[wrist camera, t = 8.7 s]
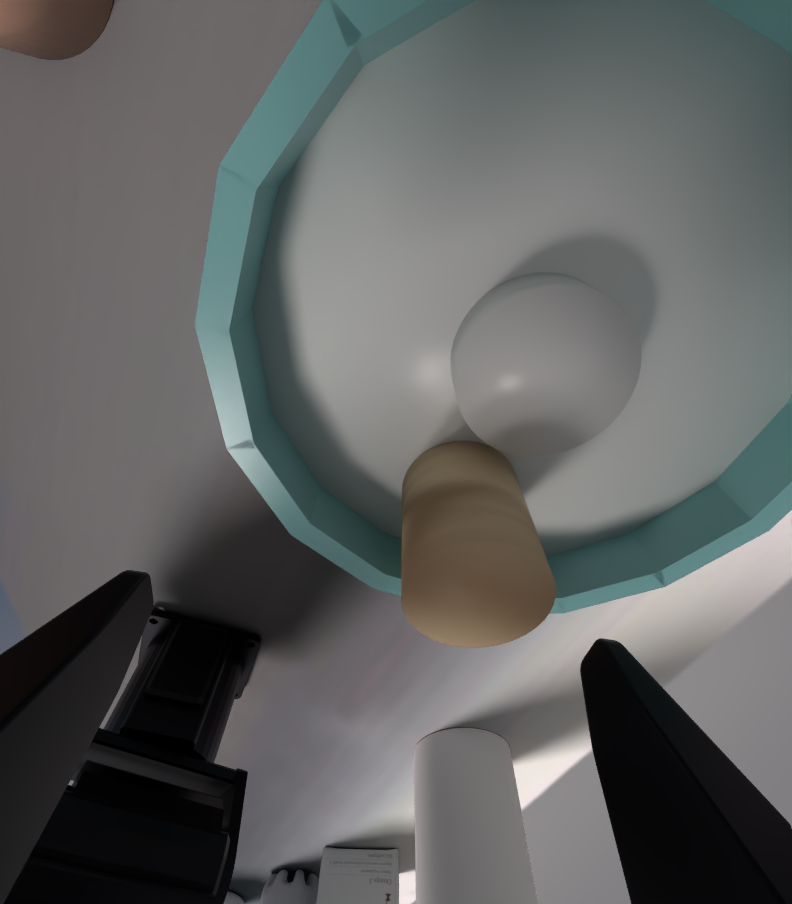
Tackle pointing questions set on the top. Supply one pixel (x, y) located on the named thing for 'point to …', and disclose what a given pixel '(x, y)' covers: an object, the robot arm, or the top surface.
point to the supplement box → (358, 876)
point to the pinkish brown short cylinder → (52, 26)
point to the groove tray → (516, 276)
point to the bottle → (290, 889)
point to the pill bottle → (233, 898)
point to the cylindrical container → (469, 822)
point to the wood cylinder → (470, 549)
